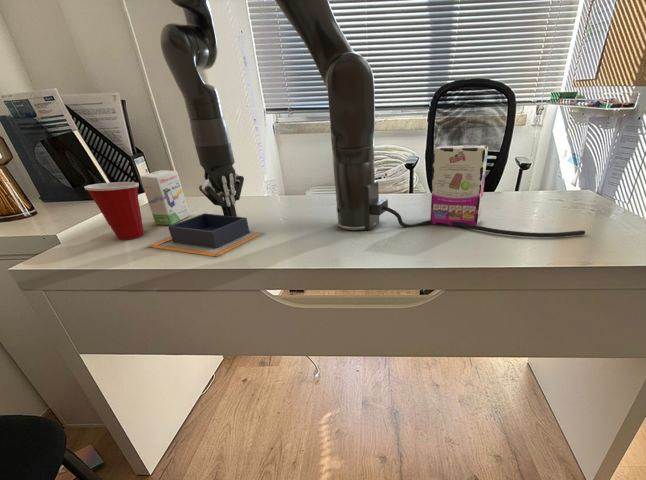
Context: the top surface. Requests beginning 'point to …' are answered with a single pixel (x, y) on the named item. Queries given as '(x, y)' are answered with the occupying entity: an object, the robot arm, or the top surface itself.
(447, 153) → the candy bar box
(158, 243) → the tape marks
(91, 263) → the top surface
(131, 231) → the plastic cup
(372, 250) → the top surface
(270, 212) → the top surface
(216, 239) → the dark blue tray
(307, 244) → the top surface
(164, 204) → the ink box
